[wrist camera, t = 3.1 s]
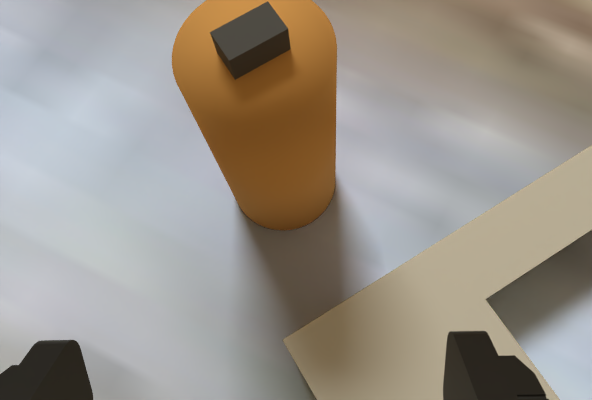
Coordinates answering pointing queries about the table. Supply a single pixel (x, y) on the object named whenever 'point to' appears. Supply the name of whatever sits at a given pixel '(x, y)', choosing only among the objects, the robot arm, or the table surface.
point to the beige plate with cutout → (443, 296)
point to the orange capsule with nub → (264, 102)
